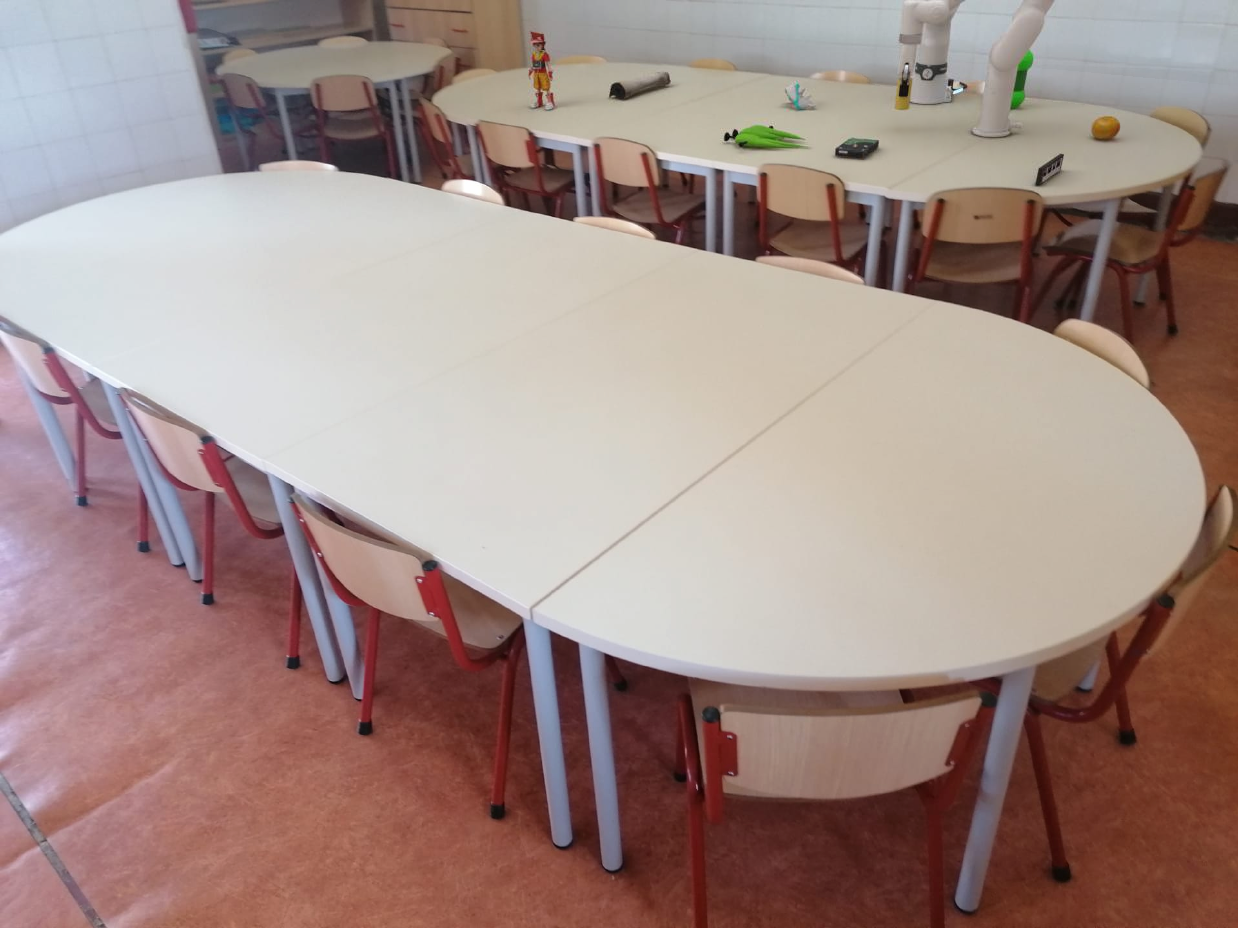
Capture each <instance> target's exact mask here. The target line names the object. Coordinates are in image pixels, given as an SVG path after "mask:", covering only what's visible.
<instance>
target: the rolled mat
mask: <svg viewBox="0 0 1238 928" xmlns="http://www.w3.org/2000/svg"><path fill="white" fill-rule="evenodd" d="M671 83H672V81H671V77H670V74H669V72H668V71H658V72H654V73H649V74H645V75H640V76H637V77H633V78H628V79H623V80H620V81H616V82H613V83H612V84H611V85H610V89H609V95H608V97H609V98H611V97H616V99H620V100H622V101H623V100H626V99H627V98H629V97H630V96H632V95H635V94H636V93H638V92H640V91H643V90H644V89H647V88H650V87H655V86H658V87H659V86H661V87H665V86H669V85H670V84H671Z"/></svg>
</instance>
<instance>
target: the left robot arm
mask: <svg viewBox="0 0 1238 928" xmlns="http://www.w3.org/2000/svg"><path fill="white" fill-rule="evenodd" d="M925 1H930V0H925ZM960 5H961V4H959V5H958V6H957V7H955V8H954V9H953V10H951V11H950V12H949V14H948V16H947V18H946V19H945V20H944V21H943V22H942V23H939V24H929V23H924V25H923V33H922V41H921V44H919V45H918V53H917V60H916V61H915V64H914V74H912V75H911V76H910V78H913V80H912V88H911V96H910V103H913V104H921V105H935V104H941V103H952V91H953V95H955V94H958V93H960V92H963V90H965V89H967V88H968V84H966V83H964V82H962V81H959V84H960V85H961V86H963V87H959V88H954V82H955V79H953V78H948V76H947V75H948V74H947V71H948V62H947V61H948V57H949V55H948V54H949V49H950V41H951V40H950V39H951V29H952V20H953V18H954V17H955V15H956V13H957V11H958V9H959V7H960ZM949 87H950V88H949Z"/></svg>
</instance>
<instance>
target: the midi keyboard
mask: <svg viewBox="0 0 1238 928" xmlns="http://www.w3.org/2000/svg"><path fill="white" fill-rule="evenodd" d="M1064 157H1065V153H1059V154H1058V155H1056V156H1055V157H1052V159H1051V160H1049V161H1047V162H1045V164H1042V165H1041V166H1039V167H1038V169H1037V175H1036V179H1035V186H1040V185H1042V183H1044V182H1045V181H1047V180H1048V179H1049V178H1051V177H1052V176H1054V175H1055V174H1056V173H1058V172H1060V171H1061V170H1062V165H1063V161H1064Z"/></svg>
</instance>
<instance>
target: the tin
mask: <svg viewBox="0 0 1238 928" xmlns="http://www.w3.org/2000/svg"><path fill="white" fill-rule="evenodd" d="M907 78H908V77H907ZM912 80H913V78H911V77H910V78H909V92H908V97H899V88H900V84H901V77H898V78H897V83H896V84H897V85H896V91H895V93H896V94H895V101H894V110H896V111H906V110H909V109H910V103H911V102H910V96H911V88H912Z"/></svg>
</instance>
